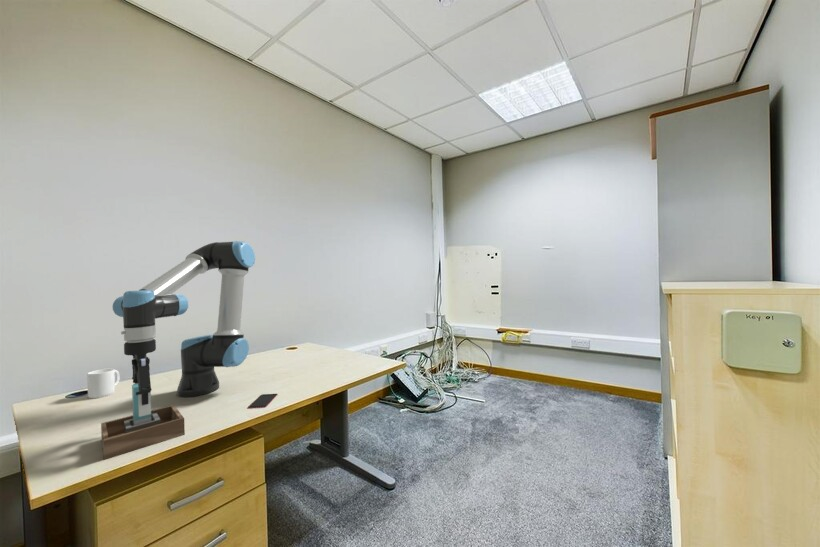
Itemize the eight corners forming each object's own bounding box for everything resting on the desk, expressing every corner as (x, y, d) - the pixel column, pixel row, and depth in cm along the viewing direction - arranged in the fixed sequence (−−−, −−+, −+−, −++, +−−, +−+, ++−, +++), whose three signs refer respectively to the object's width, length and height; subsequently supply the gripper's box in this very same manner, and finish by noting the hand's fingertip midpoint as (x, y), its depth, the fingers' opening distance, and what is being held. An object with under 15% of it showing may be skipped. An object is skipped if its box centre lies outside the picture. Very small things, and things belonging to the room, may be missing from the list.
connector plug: (133, 430, 99) (132, 385, 100) (149, 425, 102) (148, 381, 102) (134, 434, 97) (133, 387, 97) (151, 429, 100) (150, 384, 100)
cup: (82, 398, 133) (81, 374, 133) (110, 388, 145) (110, 366, 145) (101, 398, 132) (100, 374, 133) (128, 388, 144) (127, 365, 144)
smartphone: (278, 393, 132) (265, 407, 118) (278, 394, 132) (265, 408, 118) (261, 394, 131) (246, 408, 117) (261, 395, 131) (246, 409, 117)
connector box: (101, 439, 97) (101, 423, 97) (174, 419, 110) (174, 404, 110) (103, 459, 86) (103, 441, 86) (184, 434, 99) (184, 418, 99)
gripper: (120, 337, 106) (122, 402, 106) (127, 347, 88) (129, 425, 88) (149, 334, 111) (151, 395, 111) (162, 343, 94) (164, 416, 93)
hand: (141, 409), depth 100 cm, fingers open, 13 cm apart
